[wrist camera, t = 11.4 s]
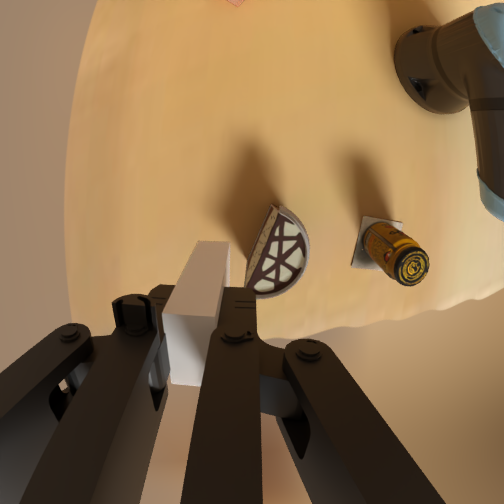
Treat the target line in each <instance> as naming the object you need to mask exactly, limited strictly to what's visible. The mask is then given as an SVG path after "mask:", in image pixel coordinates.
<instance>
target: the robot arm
mask: <svg viewBox="0 0 504 504" xmlns="http://www.w3.org/2000/svg"><path fill="white" fill-rule="evenodd" d="M394 60H395V67H396V71H397V74H398V77H399V79H400V82H401V84H402V85H403V87H404V89H405V90H406V92H407V93H408V94H409V96H410V97H411V98H412V99H413V100H414V101H415V102H416V103H417V104H419V105H420V106H421V107H423V108H424V109H426V110H428V111H430V112H433V113H437V114H453V113H457V112H460V111H462V110H463V109H465V108H466V107H467V106H468V105H470V112H471V118H472V124H473V130H474V138H475V146H476V155H477V166H478V168H477V177H478V179H479V187H480V197H481V201H482V203H483V204H484V206H485V208H486V209H487V210H488V211H489V212H490V213H491V214H492V215H493V216H495V217H496V218H498V219H499V220H501V221H503V222H504V3H494V4H491V5H487V6H480V7H477V8H476V9H475V10H474V11H471V12H469V13H467V14H465V15H463V16H461V17H459V18H457V19H455V20H453V21H451V22H449V23H447V24H445V25H443V26H429V25H423V26H418V27H415V28H412V29H411V30H409V31H407V32H406V33H404V34H403V35H402V36H401V37H400V39H399V40H398V42H397V44H396V48H395V54H394ZM112 308H113V313H114V318H115V323H116V328H115V330H114V331H113V333H112V334H111V335H107V336H94V337H91V333H90V330H89V328H88V327H87V326H85V325H83V324H78V323H69V324H66V325H63V326H61V327H59V328H57V329H55V330H54V331H53V332H52V333H50V334H49V335H48V336H46V337H45V338H44V339H43V340H41V341H40V342H39V343H37V344H36V345H35V346H34V347H33V348H31V349H30V350H28V351H27V352H26V353H25V354H24V355H22V356H21V357H20V358H18V359H17V360H16V361H15V362H14V363H12V364H11V365H10V366H9V367H7V368H6V369H5V370H4V371H2V372H1V373H0V504H139V503H140V499H141V495H142V491H143V487H144V483H145V479H146V475H147V471H148V467H149V463H150V459H151V455H152V452H153V448H154V444H155V440H156V436H157V433H158V429H159V426H160V422H161V418H162V415H163V411H164V408H165V404H166V400H167V397H168V386H167V379H168V376H169V373H170V378H171V383H172V384H180V385H191V386H201V388H200V394H199V399H198V404H197V410H196V415H195V421H194V426H193V432H192V438H191V443H190V449H189V454H188V460H187V466H186V472H185V478H184V484H183V490H182V496H181V502H180V504H263V495H262V455H261V454H262V452H261V418H260V417H261V414H260V412H262V413H266V414H269V415H274V416H276V421H277V423H278V425H279V428H280V430H281V433H282V435H283V438H284V440H285V442H286V445H287V447H288V449H289V452H290V454H291V456H292V459H293V461H294V463H295V466H296V468H297V470H298V472H299V475H300V477H301V479H302V482H303V484H304V486H305V488H306V491H307V493H308V495H309V497H310V500H311V502H312V504H446V503H445V502H444V500H443V499H442V498H441V497H440V495H439V494H438V492H437V491H436V490H435V488H434V487H433V486H432V484H431V483H430V481H429V480H428V479H427V477H426V476H425V475H424V473H423V472H422V470H421V469H420V468H419V467H418V465H417V464H416V462H415V461H414V460H413V458H412V457H411V456H410V454H409V453H408V451H407V450H406V449H405V447H404V446H403V445H402V443H401V442H400V441H399V439H398V438H397V437H396V435H395V434H394V433H393V431H392V430H391V428H390V427H389V426H388V424H387V423H386V422H385V420H384V419H383V418H382V416H381V415H380V414H379V412H378V411H377V410H376V408H375V407H374V406H373V404H372V403H371V402H370V400H369V399H368V397H367V396H366V395H365V393H364V392H363V391H362V389H361V388H360V387H359V385H358V384H357V383H356V381H355V380H354V379H353V377H352V376H351V375H350V373H349V372H348V371H347V369H346V368H345V367H344V365H343V364H342V363H341V361H340V360H339V359H338V357H337V356H336V355H335V353H334V352H333V351H332V349H331V348H330V347H329V346H327V345H326V344H325V343H323V342H320V341H317V340H313V339H298V340H294V341H292V342H291V343H289V344H287V345H286V347H285V349H282V348H278V347H274V346H271V345H269V344H267V343H265V342H264V341H262V340H261V339H260V338H259V336H258V334H257V316H256V294H255V293H254V292H253V290H252V289H251V288H243V287H230V242H218V241H198V242H197V244H196V246H195V248H194V250H193V252H192V254H191V256H190V258H189V260H188V262H187V264H186V266H185V268H184V270H183V271H182V273H181V275H180V277H179V279H178V281H177V283H176V285H162V284H160V285H158V286H157V287H155V288H154V289H152V290H151V291H150V293H149V294H148V296H147V295H143V294H130V295H125V296H122V297H119V298H117V299H116V300H114V301H113V302H112ZM63 379H65V382H66V384H67V386H68V387H67V388H66V389H64V390H63V391H61V389H60V387H59V385H58V384H59V383H60V382H61V381H62V380H63Z"/></svg>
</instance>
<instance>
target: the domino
mask: <svg viewBox="0 0 504 504" xmlns="http://www.w3.org/2000/svg"><path fill="white" fill-rule="evenodd" d="M227 1H229V2H230V3H232V4H234V5H235V6H237V7H238V6H239V5H240V4H241V3H242V2H243V1H244V0H227Z"/></svg>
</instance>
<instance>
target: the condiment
mask: <svg viewBox="0 0 504 504" xmlns="http://www.w3.org/2000/svg"><path fill="white" fill-rule="evenodd" d="M402 226H403V223H400V222H395V221H390V220H385V219H379V218H374V217H368V216H363V220H362V224H361V228H360V232H359V237H358V242H357V247H356V250H355V254H354V259H353V263H352V267H351V268H362V269H370V270H378V271H384V272H385V273H386V274H387V275H388V276H389V277H390V278H392V279H394V280H396V281H397V282H398V283H400V284H402V285H404V286H414V285H416V284H418V283H420V282H421V281H422V280H423V279H424V277H425V276H426V274H427V272H428V269H429V257H428V255H427V254H426V253H425V251H424V250H422V249H421V248H420V246H419V244H418V243H417V242H416V241H414V240H413V239H412V238H410V237H409V236H407V235H406V234H404V233H403V232H401V229H402ZM362 249H363V250H362Z"/></svg>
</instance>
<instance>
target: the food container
mask: <svg viewBox="0 0 504 504" xmlns="http://www.w3.org/2000/svg"><path fill="white" fill-rule="evenodd" d="M309 252H310V245H309V238H308V235H307V231H306V229H305V227H304V225H303V224H302V222H301V221H300V220H299V218H298V217H297V216H296V215H295V214H294V213H292V212H291V211H290V210H288V209H287V208H285V207H283V206H281V205H280V209H279V208H278V207H277V206H275V205H273V204H271V205H270V207H269V210H268V212H267V214H266V217H265V219H264V221H263V224H262V226H261V229H260V231H259V233H258V236H257V238H256V240H255V243H254V245H253V247H252V250H251V252H250V255H249V257H248V259H247V265H246V274H245V283H244V288H251V289H252V290H253V292H254V293H255V294H256V299H268V298H273V297H276V296H279V295H281V294H283V293H285V292H286V291H288V290H289V289H291V288H292V287H293V286H294V285H295V284H296V283H297V282H298V281H299V280H300V278H301V277H302V275H303V274H304V272H305V270H306V267H307V264H308V260H309Z"/></svg>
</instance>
